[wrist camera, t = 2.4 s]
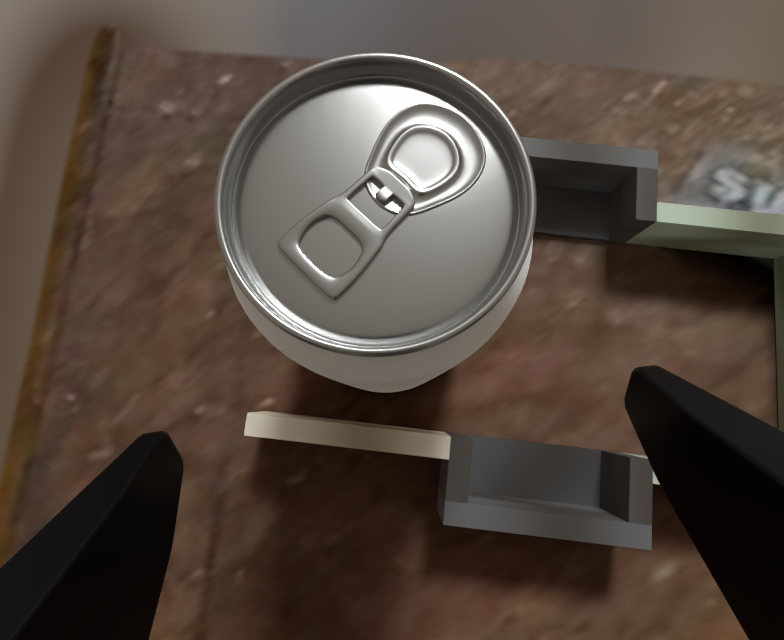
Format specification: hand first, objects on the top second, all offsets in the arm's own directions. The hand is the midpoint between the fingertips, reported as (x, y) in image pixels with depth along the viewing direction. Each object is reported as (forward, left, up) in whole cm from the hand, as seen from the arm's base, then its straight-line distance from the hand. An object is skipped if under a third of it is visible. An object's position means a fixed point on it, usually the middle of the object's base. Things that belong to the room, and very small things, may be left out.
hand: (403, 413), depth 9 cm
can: (+2, +3, -11) cm, 11 cm away
